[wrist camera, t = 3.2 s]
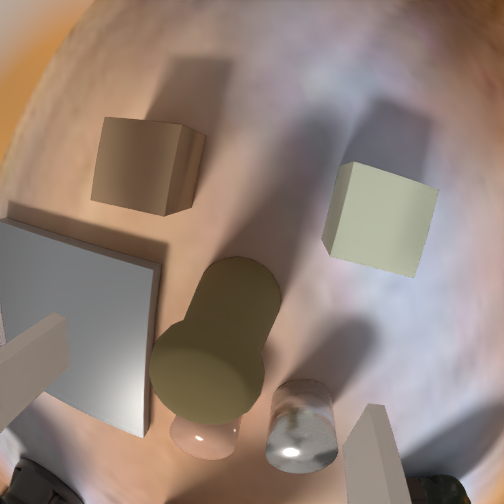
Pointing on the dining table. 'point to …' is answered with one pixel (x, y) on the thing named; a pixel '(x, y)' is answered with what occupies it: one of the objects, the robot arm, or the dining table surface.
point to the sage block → (378, 219)
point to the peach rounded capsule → (205, 438)
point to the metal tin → (301, 428)
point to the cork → (218, 344)
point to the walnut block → (147, 165)
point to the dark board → (85, 317)
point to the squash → (444, 490)
